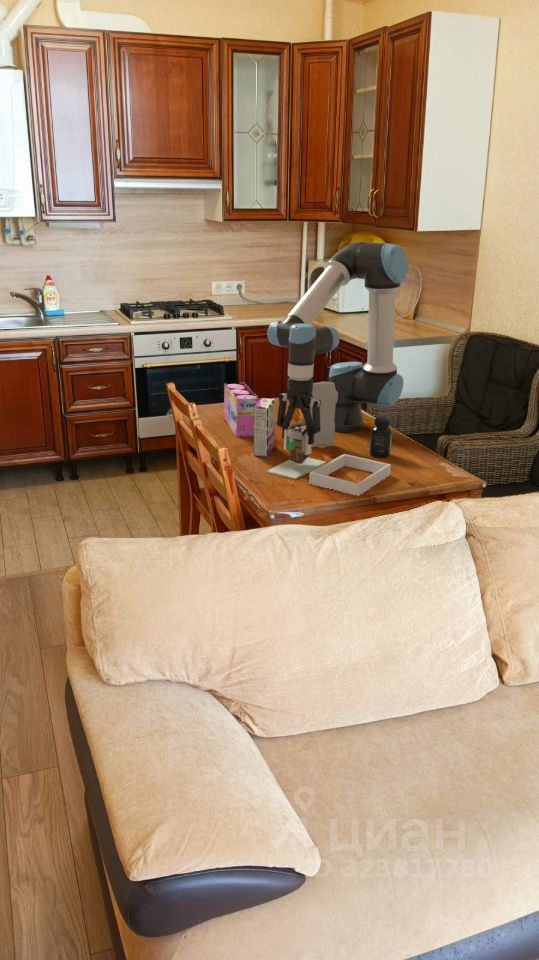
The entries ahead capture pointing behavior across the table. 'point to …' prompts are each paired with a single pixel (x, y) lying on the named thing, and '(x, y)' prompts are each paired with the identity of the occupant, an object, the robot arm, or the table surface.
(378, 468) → the bin
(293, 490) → the table surface
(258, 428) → the candy bar box
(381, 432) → the supplement bottle
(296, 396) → the robot arm
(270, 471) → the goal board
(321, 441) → the grey upright slab
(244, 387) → the gum box
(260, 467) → the table surface
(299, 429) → the food container
